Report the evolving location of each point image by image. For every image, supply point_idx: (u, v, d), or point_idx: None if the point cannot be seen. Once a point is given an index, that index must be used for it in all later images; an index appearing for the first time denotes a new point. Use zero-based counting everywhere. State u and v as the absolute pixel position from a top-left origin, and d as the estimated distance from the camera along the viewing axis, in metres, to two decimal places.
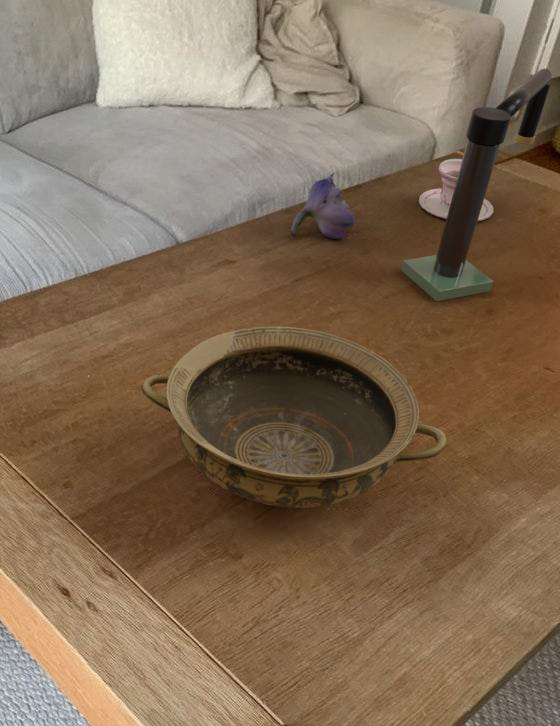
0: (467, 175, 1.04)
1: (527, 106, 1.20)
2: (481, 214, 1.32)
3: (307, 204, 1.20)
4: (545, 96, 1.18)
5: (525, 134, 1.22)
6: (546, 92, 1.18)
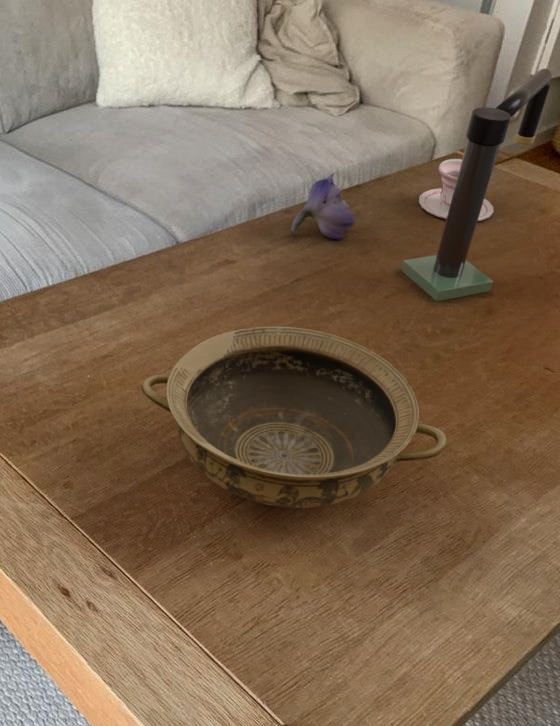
0: (467, 175, 1.04)
1: (527, 106, 1.20)
2: (481, 214, 1.32)
3: (307, 204, 1.20)
4: (545, 96, 1.18)
5: (525, 134, 1.22)
6: (546, 92, 1.18)
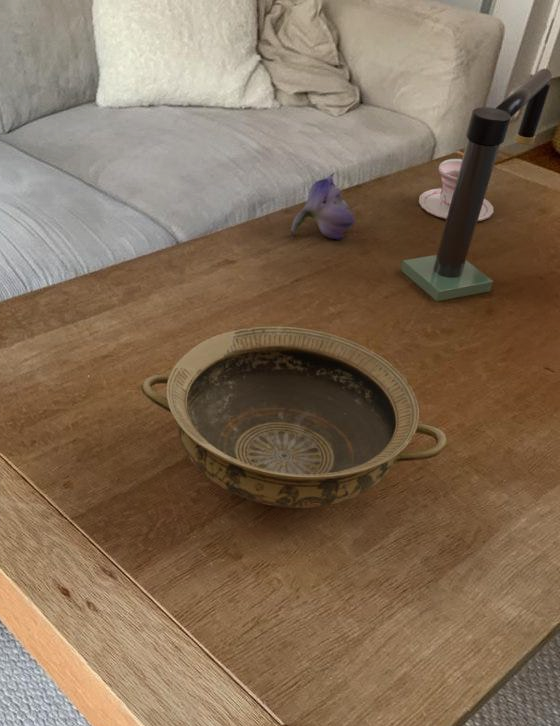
0: (467, 175, 1.04)
1: (527, 106, 1.20)
2: (481, 214, 1.32)
3: (307, 204, 1.20)
4: (545, 96, 1.18)
5: (525, 134, 1.22)
6: (546, 92, 1.18)
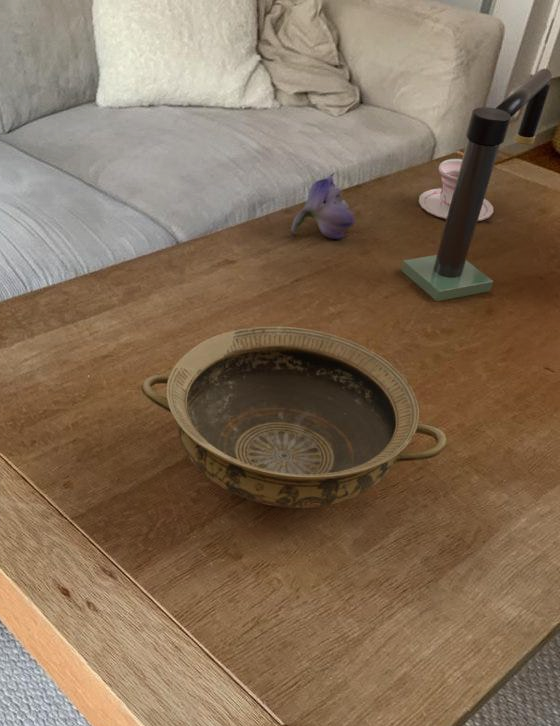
0: (467, 175, 1.04)
1: (527, 106, 1.20)
2: (481, 214, 1.32)
3: (307, 204, 1.20)
4: (545, 96, 1.18)
5: (525, 134, 1.22)
6: (546, 92, 1.18)
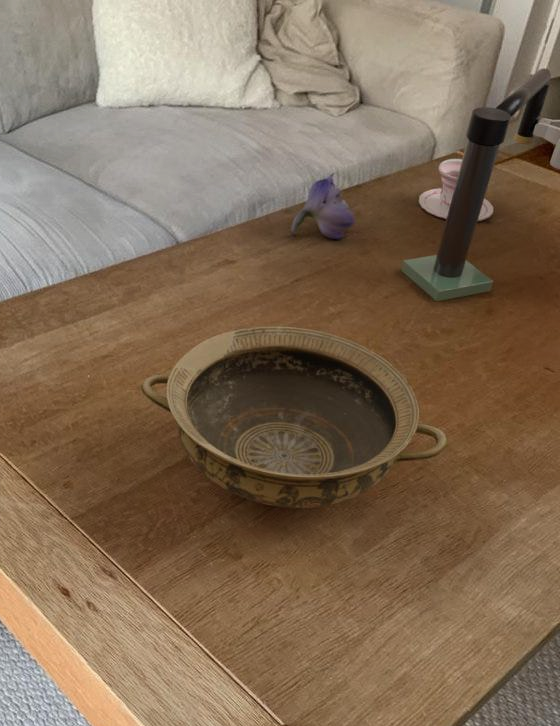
0: (467, 175, 1.04)
1: (526, 106, 1.20)
2: (481, 214, 1.32)
3: (307, 204, 1.20)
4: (544, 96, 1.18)
5: (524, 134, 1.22)
6: (545, 92, 1.18)
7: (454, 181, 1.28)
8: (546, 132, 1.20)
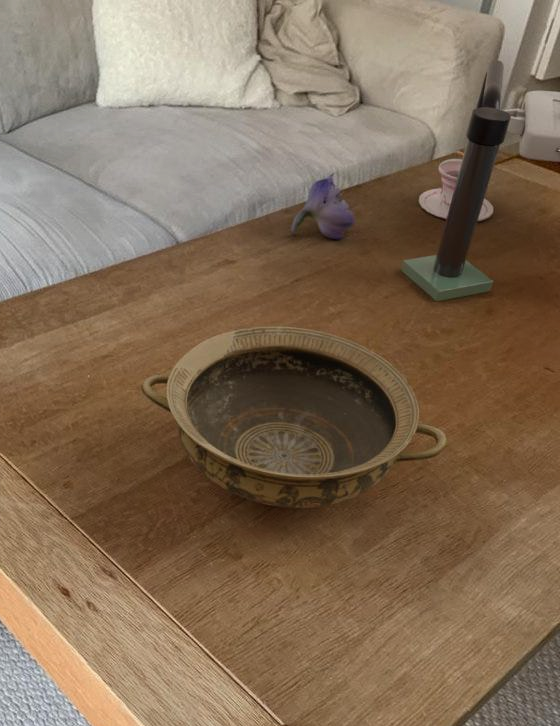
0: (467, 175, 1.04)
1: (481, 98, 1.22)
2: (481, 214, 1.32)
3: (307, 204, 1.20)
4: None
5: None
6: None
7: (454, 181, 1.28)
8: None
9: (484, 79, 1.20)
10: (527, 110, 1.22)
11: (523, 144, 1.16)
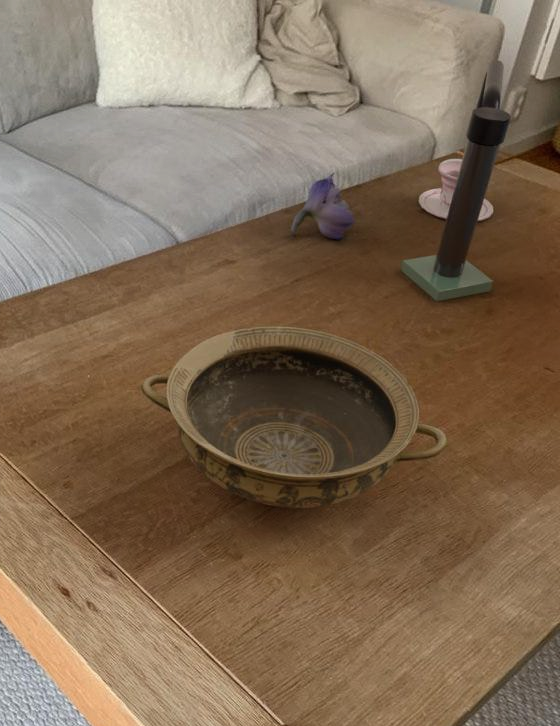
0: (467, 175, 1.04)
1: (481, 98, 1.22)
2: (481, 214, 1.32)
3: (307, 204, 1.20)
4: None
5: None
6: None
7: (454, 181, 1.28)
8: None
9: (484, 79, 1.20)
10: None
11: None
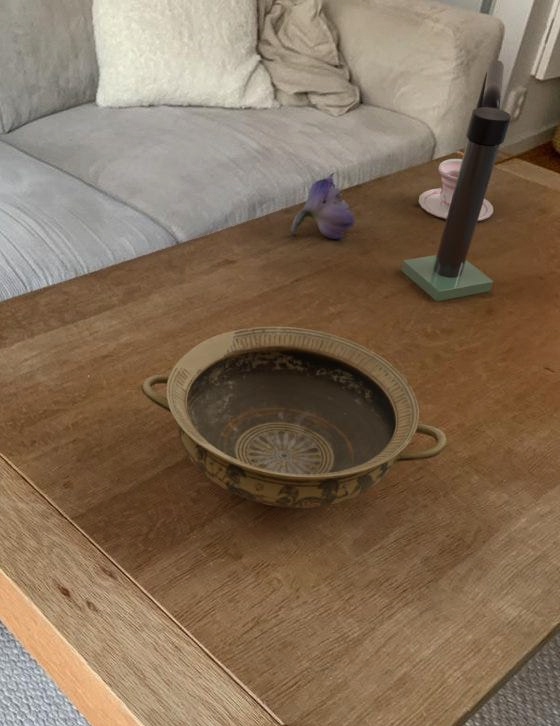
0: (467, 175, 1.04)
1: (481, 98, 1.22)
2: (481, 214, 1.32)
3: (307, 204, 1.20)
4: None
5: None
6: None
7: (454, 181, 1.28)
8: None
9: (484, 79, 1.20)
10: None
11: None
